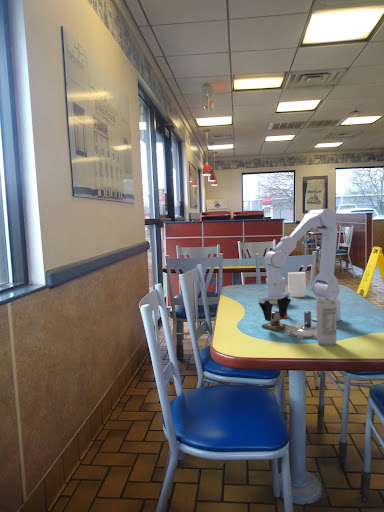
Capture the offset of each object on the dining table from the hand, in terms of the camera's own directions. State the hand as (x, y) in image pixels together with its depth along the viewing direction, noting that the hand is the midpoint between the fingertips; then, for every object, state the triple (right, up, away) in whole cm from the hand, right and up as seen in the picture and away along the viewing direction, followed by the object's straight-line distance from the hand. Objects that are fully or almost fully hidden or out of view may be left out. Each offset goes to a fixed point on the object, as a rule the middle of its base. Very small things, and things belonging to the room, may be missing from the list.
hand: (275, 318), depth 139 cm
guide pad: (0, -3, 0) cm, 3 cm away
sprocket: (+9, -4, -7) cm, 12 cm away
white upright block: (+24, +3, +56) cm, 61 cm away
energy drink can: (+13, -5, -19) cm, 23 cm away
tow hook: (+4, -2, +16) cm, 17 cm away
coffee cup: (+10, +1, +41) cm, 43 cm away
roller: (0, -2, 0) cm, 2 cm away
